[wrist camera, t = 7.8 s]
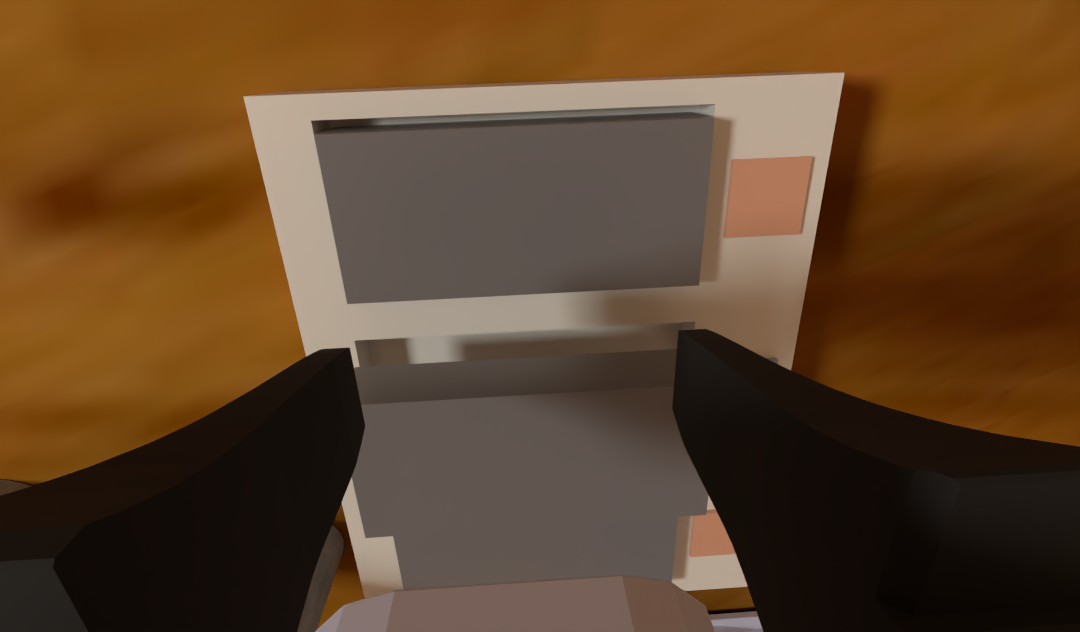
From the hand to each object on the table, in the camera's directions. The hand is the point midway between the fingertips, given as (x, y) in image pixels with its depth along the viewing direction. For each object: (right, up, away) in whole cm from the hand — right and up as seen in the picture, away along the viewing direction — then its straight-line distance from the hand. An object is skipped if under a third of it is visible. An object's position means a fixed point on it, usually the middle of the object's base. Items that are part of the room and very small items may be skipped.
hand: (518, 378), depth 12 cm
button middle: (0, -2, +7) cm, 7 cm away
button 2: (0, +5, +6) cm, 8 cm away
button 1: (0, -7, +12) cm, 14 cm away
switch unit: (0, 0, +10) cm, 10 cm away
